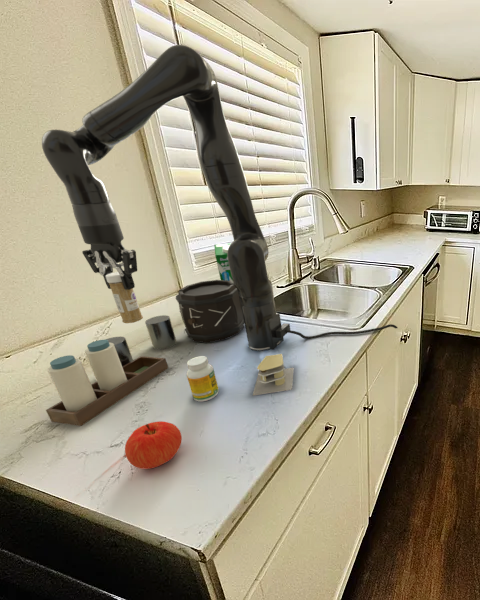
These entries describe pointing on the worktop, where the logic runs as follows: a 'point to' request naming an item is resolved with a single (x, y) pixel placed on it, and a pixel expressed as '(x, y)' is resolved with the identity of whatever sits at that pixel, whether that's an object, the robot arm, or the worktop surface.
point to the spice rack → (136, 377)
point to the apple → (153, 444)
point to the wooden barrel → (210, 310)
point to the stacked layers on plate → (273, 376)
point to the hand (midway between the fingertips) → (121, 288)
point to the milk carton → (223, 261)
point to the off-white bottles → (75, 380)
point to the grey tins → (159, 336)
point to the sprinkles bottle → (124, 299)
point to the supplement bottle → (202, 379)
